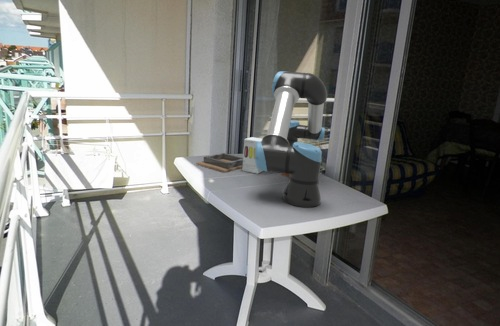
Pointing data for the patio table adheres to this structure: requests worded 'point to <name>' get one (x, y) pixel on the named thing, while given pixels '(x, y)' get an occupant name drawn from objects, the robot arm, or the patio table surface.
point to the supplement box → (250, 155)
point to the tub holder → (222, 162)
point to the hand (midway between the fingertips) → (251, 153)
